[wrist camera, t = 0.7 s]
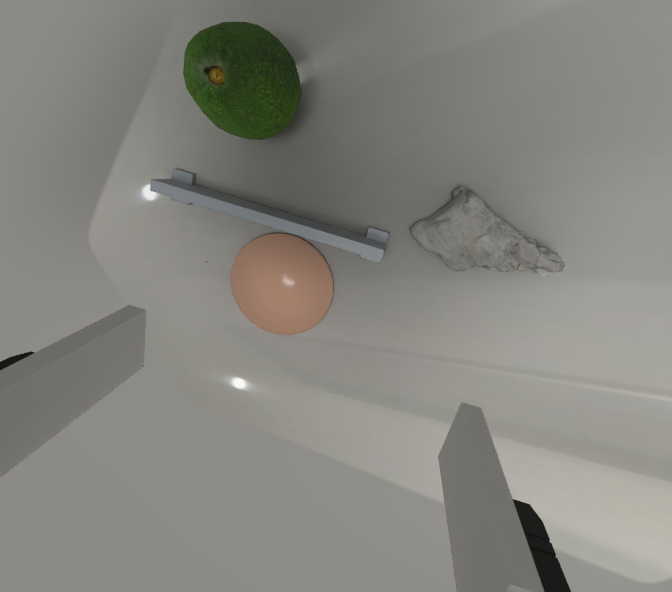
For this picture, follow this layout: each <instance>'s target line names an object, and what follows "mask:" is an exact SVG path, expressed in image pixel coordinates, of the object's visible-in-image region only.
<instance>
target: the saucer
mask: <svg viewBox="0 0 672 592" xmlns="http://www.w3.org/2000/svg"><path fill="white" fill-rule="evenodd" d="M231 286H232V291H233V295H234V298H235V300H236V303H237V304H238V306H239V308H240V309H241V311H242V312H243V314H244V315H245V316H246V317H247V318H248V319H249V320H250V321H251V322H253V323H254V324H255V325H257V326H258V327H260V328H262V329H264V330H266V331H269V332H272V333H276V334H283V335H290V334H297V333H301V332H304V331H306V330H309V329H310V328H312V327H314V326H315V325H316V324H317V323H319V322H320V321H321V319H322V318H323V317H324V316H325V314H326V313H327V311H328V309H329V307H330V304H331V302H332V297H333V289H334V287H333V278H332V274H331V271H330V268H329V266H328V264H327V262H326V260H325V259H324V257H323V256H322V254H321V253H320V252H319V251H318V250H317V249H316V248H315V247H314V246H313V245H311V244H310V243H309V242H307V241H305V240H304V239H302V238H299V237H297V236H294V235H290V234H284V233H272V234H267V235H263V236H260V237H258V238H256V239H254V240H252V241H251V242H250V243H248V244H247V245H246V246H245V247H244V248H243V249H242V250H241V251H240V253H239V254H238V256H237V257H236V259H235V262H234V264H233V268H232V273H231Z"/></svg>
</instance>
